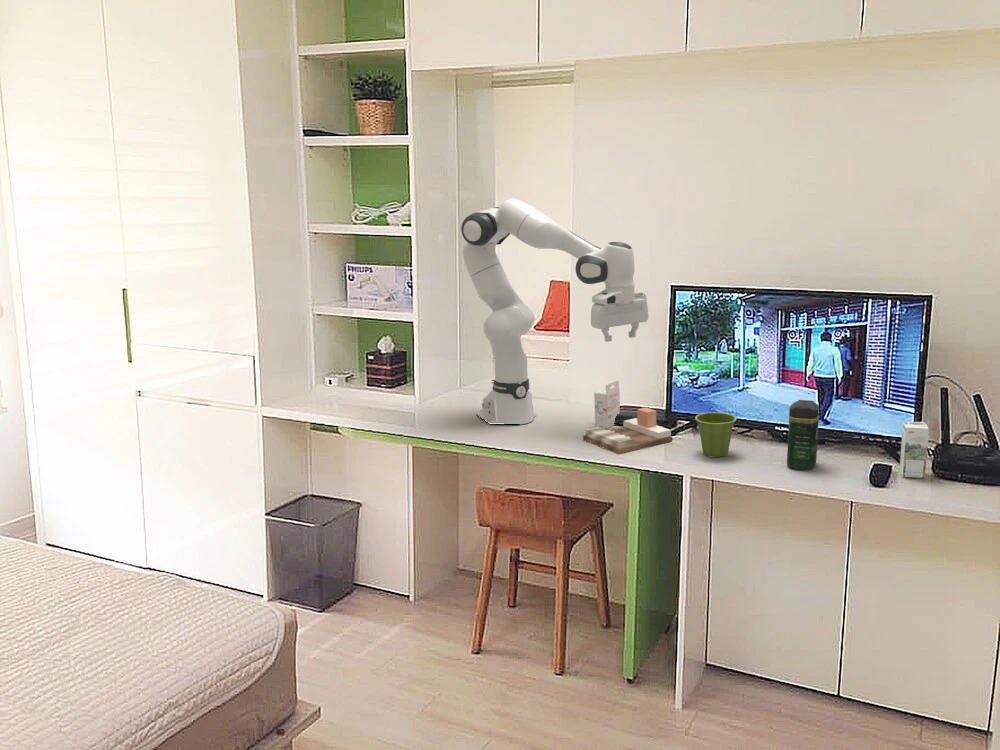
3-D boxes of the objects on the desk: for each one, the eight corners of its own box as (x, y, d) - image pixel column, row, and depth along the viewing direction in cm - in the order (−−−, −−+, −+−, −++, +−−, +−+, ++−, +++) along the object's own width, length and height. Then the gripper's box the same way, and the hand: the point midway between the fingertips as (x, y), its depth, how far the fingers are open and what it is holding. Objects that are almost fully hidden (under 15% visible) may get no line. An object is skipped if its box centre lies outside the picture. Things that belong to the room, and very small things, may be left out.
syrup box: (921, 472, 257) (925, 421, 253) (925, 479, 251) (929, 427, 248) (899, 471, 258) (902, 420, 255) (902, 478, 253) (905, 426, 249)
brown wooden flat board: (583, 439, 296) (583, 429, 295) (635, 428, 306) (635, 417, 305) (619, 454, 281) (618, 442, 280) (672, 441, 291) (672, 430, 290)
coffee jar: (814, 472, 259) (817, 407, 255) (784, 469, 263) (787, 405, 258) (818, 461, 268) (821, 398, 264) (789, 458, 271) (791, 396, 267)
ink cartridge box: (607, 420, 316) (607, 378, 313) (620, 422, 313) (620, 379, 310) (594, 426, 310) (593, 383, 306) (607, 428, 307) (606, 385, 303)
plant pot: (692, 448, 284) (692, 412, 281) (731, 447, 283) (732, 411, 280) (697, 460, 272) (698, 423, 270) (739, 460, 272) (740, 422, 269)
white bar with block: (623, 426, 303) (623, 405, 301) (635, 424, 305) (635, 403, 304) (658, 439, 289) (658, 417, 287) (670, 436, 291) (671, 414, 289)
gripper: (639, 290, 297) (639, 333, 300) (587, 297, 287) (588, 342, 290) (652, 292, 292) (652, 336, 295) (600, 299, 281) (600, 345, 285)
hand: (620, 339), depth 292 cm, fingers open, 8 cm apart
